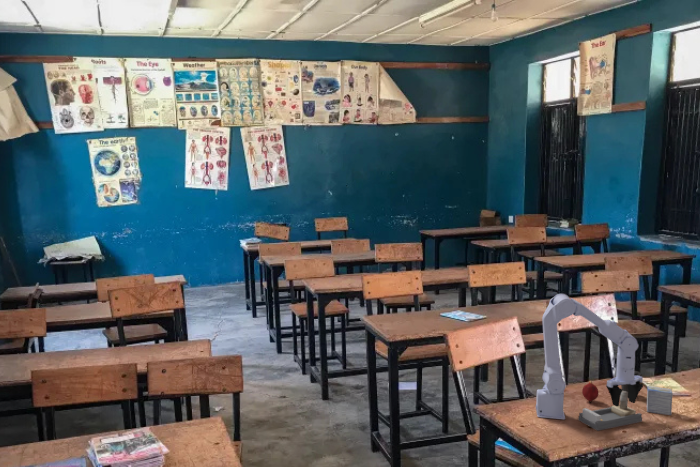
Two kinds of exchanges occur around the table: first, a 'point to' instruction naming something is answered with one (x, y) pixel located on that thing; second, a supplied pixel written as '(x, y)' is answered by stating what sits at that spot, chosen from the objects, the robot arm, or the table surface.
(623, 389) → the coffee cup
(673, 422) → the table surface
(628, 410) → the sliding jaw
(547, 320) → the robot arm
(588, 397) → the onion
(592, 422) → the rail base
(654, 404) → the medicine box
